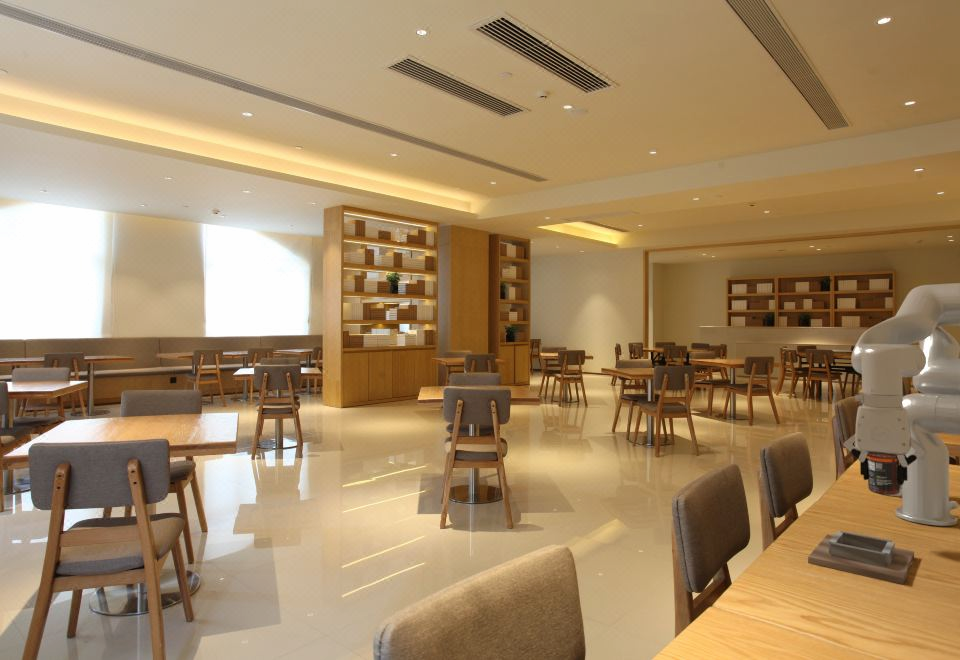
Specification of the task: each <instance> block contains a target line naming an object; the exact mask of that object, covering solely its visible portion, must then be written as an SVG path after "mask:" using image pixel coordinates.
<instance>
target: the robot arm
mask: <svg viewBox="0 0 960 660" xmlns="http://www.w3.org/2000/svg"><path fill="white" fill-rule="evenodd" d="M949 326H950V327H955V326H956V327H958V326H959V327H960V282H958V283H954V282H953V283H952V282H951V283H939V284H938V283H937V284H922V285H919V286H917V287H916V286H915V287H914V288H913V289H911V290H910V291H908V294H906V297H905V298H904V300H903V302H902V304H901V305H900V308H898V311H897V312H896V314H895V316H893V317H890V318H887V319H885V320H883V321H881V322H878V323H877V324H875V325H873V326H871V327H870V328H868V329H866V330H865V331H864V332H863V333H862V334H861V335H860V337H859V339H858V340H857V342H856V344H855V345H854V348H853V350H852V351H851V358H850V359H851V366H852V368H853V370H854V371H855V372H857V373H858V374H860V375H861V391H862V392H861V393H860V394H855V395H854V401H855V402H860V403H861V405H859V406H858V407H857V410H856V411H857V412H856V419H855V433H854V434H853V435H851V436H850V437H849V438H848V439H846V440H845V441H844V442H843V446H844V448H846V449H847V451H849V452H850V453H851V454H852V455H853V456H854V458H856V459H857V460H858V461H859V462H860V464H859V465H860V466H859V467H860V470H859V471H860V476H863V481H868V461H867V454H868V452H876V453H885V454H895V455H897V457H898V459H899V461H900V465H899V467H898V478H899V484H900V485H902V496H901V497H902V499H901V500H902V501H901V502H902V506H900V507H896V508H895V509H894V514H895V516H897V517H898V518H901V519H903V520H905V521H909V522H913V523H915V524H916V523H917V524H922V525H929V526H938V527H939V526H940V527H949V526H955V525H957V524H958V518H957V517H956V516H955V515H953V514H952V513H951V510H955V509H956V510H957V509H958V508H959V505H960V504H959V503H958V501H955V500H950V453H949V448H948V447H947V445H946V444H945V442H944V440H943V439H942V438H941V437H940V436H939V435H938V434H945V435H954V436H960V358H959V357H960V344H959V342H958V341H957V340H956V339H955V337H954V336H953V335H951V333H949V332H948V331H946V330H945V329H944V328H943V327H949ZM915 343H918V344H919V346H917V345H914V344H915ZM911 377H912V385H913V387H914V389H916V391H918V393H917V392H916V393H910V394H906V395H903V378H911ZM919 392H920V393H919ZM854 443H855V446H854Z"/></svg>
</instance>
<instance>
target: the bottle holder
mask: <svg viewBox="0 0 960 660" xmlns="http://www.w3.org/2000/svg"><path fill="white" fill-rule="evenodd" d="M895 543H896V542H893V541H892V540H891V539H885V538H880V537H875V536H870V535H865V534H860V533H853V532H849V531H844V530H841V531H836V532H835V533H834V535H833V534H828V533H827V534H826V535H825V536H824V537H823V539H822V540H821V541H820V542H819V544H818V545H817V546H816V547H815V548H814V549H813V550H812V551H811V553H810V554H809V555H808V556H807V563H808V564H811V565H816V566H822V567H825V568H829V569H833V570H837V571H843V572H847V573H851V574H856V575H859V576H865V577H869V578H874V579H876V580H882V581H886V582H890V583H896V584H899V585H904V584H905V583H906V582H905V581H906V579H907V576H908V574H909V571H910V568H911V566H912V563H913V561H914V558H915V551H913V550H909V549H903V548H899V547H896V545H895Z"/></svg>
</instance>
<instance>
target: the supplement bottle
mask: <svg viewBox="0 0 960 660" xmlns="http://www.w3.org/2000/svg"><path fill="white" fill-rule="evenodd" d="M867 461H868V480H867V484H868V485H867V486H868V490H869V491H870V492H872V493H874V494H879V495H883V496H889V495H896V494H898V493H899V492H900V484H899V478H898V467H899V459H898V457H897V455H895V454H885V453H876V452H868V454H867Z"/></svg>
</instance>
